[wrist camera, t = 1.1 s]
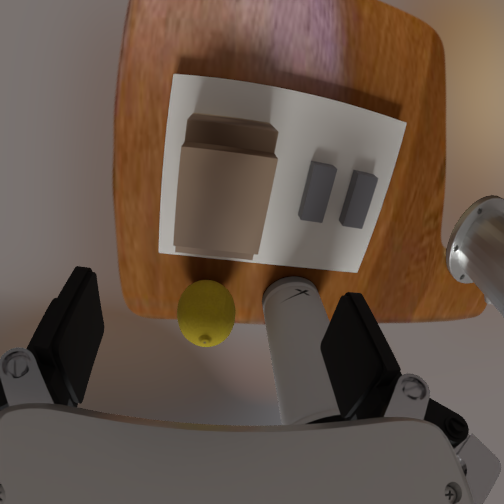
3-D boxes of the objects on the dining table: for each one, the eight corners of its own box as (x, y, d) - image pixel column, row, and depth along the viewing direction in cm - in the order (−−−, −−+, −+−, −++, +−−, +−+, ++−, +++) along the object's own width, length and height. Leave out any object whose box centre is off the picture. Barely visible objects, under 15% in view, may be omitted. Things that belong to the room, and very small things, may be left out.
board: (398, 120, 25) (406, 122, 24) (352, 264, 33) (357, 272, 32) (176, 74, 22) (173, 73, 21) (161, 244, 30) (158, 252, 29)
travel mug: (290, 262, 32) (346, 447, 15) (328, 295, 35) (389, 457, 18) (247, 299, 34) (268, 479, 17) (287, 326, 37) (323, 486, 20)
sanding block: (269, 122, 23) (282, 136, 18) (248, 233, 28) (254, 272, 23) (193, 112, 22) (184, 122, 17) (181, 226, 27) (172, 263, 22)
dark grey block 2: (372, 174, 26) (378, 178, 25) (357, 223, 29) (361, 228, 28) (353, 169, 26) (358, 173, 25) (338, 220, 28) (342, 226, 27)
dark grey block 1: (332, 165, 26) (337, 169, 25) (318, 217, 28) (322, 223, 27) (310, 160, 25) (314, 164, 24) (297, 214, 28) (300, 220, 27)
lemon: (190, 257, 31) (182, 312, 24) (242, 274, 33) (247, 329, 26) (175, 297, 33) (166, 353, 27) (222, 312, 35) (223, 368, 28)
